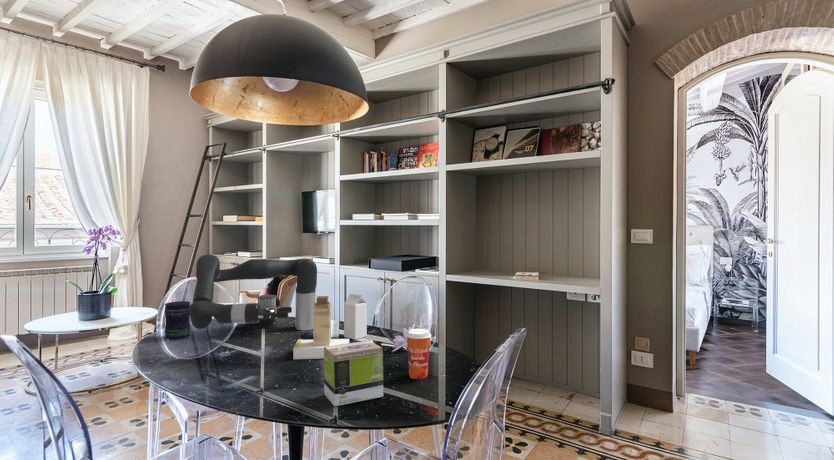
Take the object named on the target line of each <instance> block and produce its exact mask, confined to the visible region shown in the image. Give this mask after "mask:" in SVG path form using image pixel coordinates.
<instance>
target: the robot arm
mask: <svg viewBox="0 0 834 460" xmlns="http://www.w3.org/2000/svg"><path fill="white" fill-rule="evenodd" d="M220 262H221V261H220V259H219V258H218V257H217V256H216V255H213V254H203V255H201V256H199V258H197V260H196V264H195V265H196V267H195V268H196V270H195V277H196V284H195V288H194V293H193V298H192V303H190V306H189V315H190V316H189V320H190V321H191V325H192V326H193V327H194V328H196V329H198V330H203V329H206V328H207V327H209V326H210V325H211V323H212V321H213V318H214V319H215V320H216V322H217V323H218V324H240V325H241V324H243V325H244V324H248V323H258V322H259V321H260V320H274V319H276V320H277V319H281V318H282V319H285V318H288V317H289V314H292V312H293V309H292V307H291V306H282V305H280V306H266V307H265V308H262V309H261V308H260V304H259V303H258V302H251V303H247V302H245V303H236V304H234V303H233V304H221V303H219V302H218V303H217V302H213V300H214V291H215V283H218V282H219V283H220V282H227V281H229V282H230V281H242V280H267V279H268V280H269V279H274V278H279V277H285V276H286V277H287V276H289V277H291V276H292V277H296V286H295V330H297V331H310V330H311V331H312V330H313V305H314V304H315V302H316V291H317V290H316V288H317V283H318V267H317V264H316V262H315V261H314V260H312V259H309V258H298V259H287V260H285V259H284V260H283V259H282V260H281V259H272V258H271V259H270V258H269V259H267V258H253V259H252V258H251V259H248V260H246V261H244V262H242V263H240V264H238V265H236V266H234V267H231V268H224V269H220V268H221V263H220ZM277 309H278V311H277ZM277 317H278V318H277Z"/></svg>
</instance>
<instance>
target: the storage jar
mask: <svg viewBox="0 0 834 460" xmlns="http://www.w3.org/2000/svg"><path fill="white" fill-rule="evenodd" d="M190 305H191V302H190V301H185V300H184V301H171V302H166V303H165V304H164V318H165V326H164V336H165V337H164V340H166V339H169V340H168V341H179V340H178V339H181V340H185V339H184V338H186V339H188V338H187V337H189V336H190V337H191V323H190V315H189V306H190ZM190 337H189V338H190Z"/></svg>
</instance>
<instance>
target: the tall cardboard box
mask: <svg viewBox="0 0 834 460" xmlns="http://www.w3.org/2000/svg"><path fill="white" fill-rule="evenodd" d="M331 326H332V302H331V301H328V305H317V301H315V304H314V305H313V329H312V330H313V331H312V333H313V334H312V335H313V336H312V337H313V339H312V340H313V346H329V345H330V342H331V339H332V335H331V334H332V333H331V332H332V327H331Z"/></svg>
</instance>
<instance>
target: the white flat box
mask: <svg viewBox="0 0 834 460" xmlns="http://www.w3.org/2000/svg"><path fill="white" fill-rule="evenodd" d="M347 343H350V338H331V342H330V345H329V346H334V345H340V344H347ZM324 347H327V346H313V339H302V338H298V339H297V340H296V343H295V344H294V346H293V354H292V355H293V359H292V360H313V359H314V360H316V359H323V360H324Z"/></svg>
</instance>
